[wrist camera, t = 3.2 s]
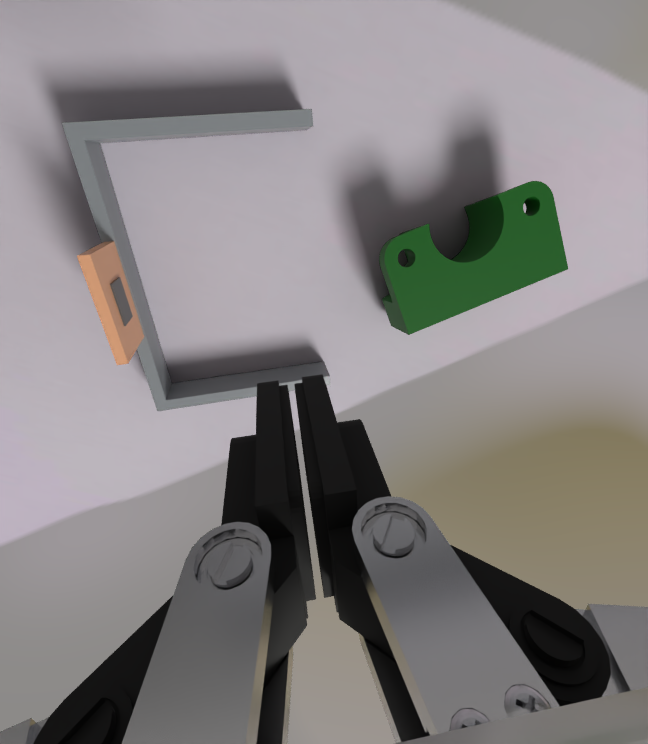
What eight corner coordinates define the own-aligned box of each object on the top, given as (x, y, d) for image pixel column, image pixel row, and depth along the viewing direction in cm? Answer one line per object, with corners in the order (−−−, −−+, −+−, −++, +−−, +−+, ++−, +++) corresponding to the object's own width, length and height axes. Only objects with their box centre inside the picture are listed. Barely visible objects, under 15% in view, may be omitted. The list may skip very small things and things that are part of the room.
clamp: (455, 209, 32) (565, 166, 24) (474, 278, 33) (583, 259, 25) (340, 258, 27) (428, 225, 19) (368, 334, 29) (460, 334, 21)
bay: (305, 114, 23) (325, 96, 17) (324, 370, 31) (342, 414, 26) (79, 127, 21) (21, 112, 16) (163, 393, 30) (145, 446, 24)
